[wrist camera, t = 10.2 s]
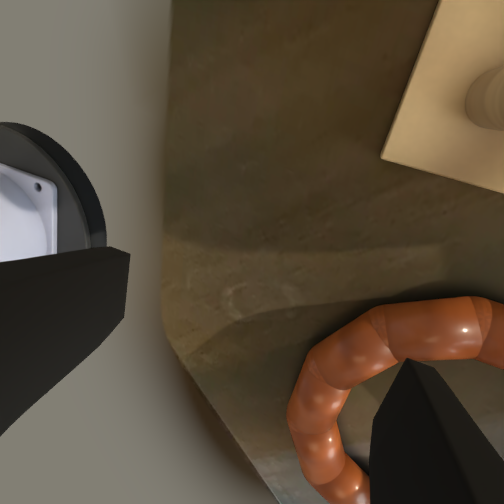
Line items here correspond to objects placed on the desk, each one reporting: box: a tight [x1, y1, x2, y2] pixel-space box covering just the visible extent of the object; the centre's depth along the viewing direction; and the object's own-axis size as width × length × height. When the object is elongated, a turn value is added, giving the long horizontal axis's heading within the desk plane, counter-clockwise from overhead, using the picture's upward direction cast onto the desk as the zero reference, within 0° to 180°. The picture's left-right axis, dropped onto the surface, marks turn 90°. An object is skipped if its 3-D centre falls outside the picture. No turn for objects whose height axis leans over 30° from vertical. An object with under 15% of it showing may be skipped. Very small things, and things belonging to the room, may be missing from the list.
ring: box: [286, 296, 504, 504], centre depth 18 cm, size 16×16×3 cm
